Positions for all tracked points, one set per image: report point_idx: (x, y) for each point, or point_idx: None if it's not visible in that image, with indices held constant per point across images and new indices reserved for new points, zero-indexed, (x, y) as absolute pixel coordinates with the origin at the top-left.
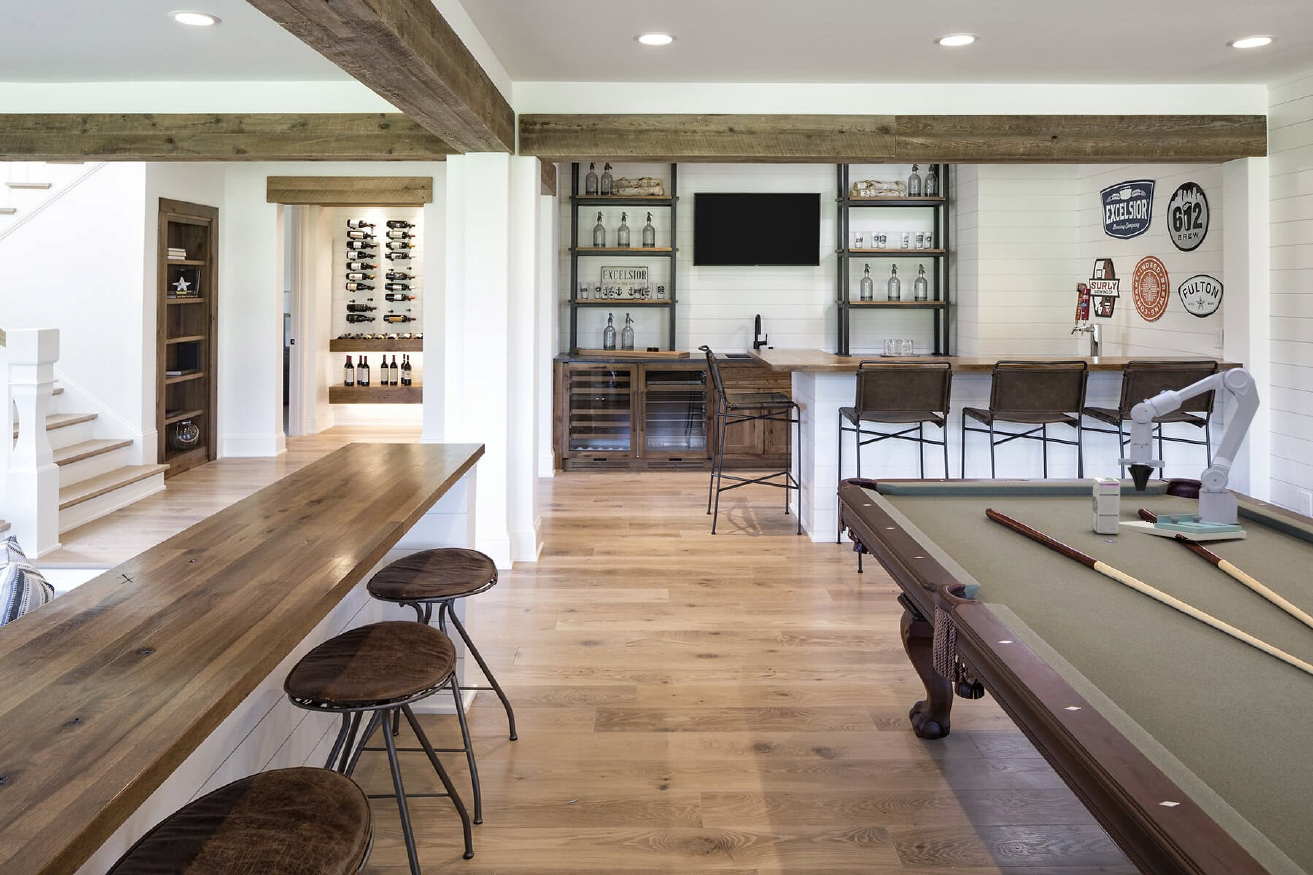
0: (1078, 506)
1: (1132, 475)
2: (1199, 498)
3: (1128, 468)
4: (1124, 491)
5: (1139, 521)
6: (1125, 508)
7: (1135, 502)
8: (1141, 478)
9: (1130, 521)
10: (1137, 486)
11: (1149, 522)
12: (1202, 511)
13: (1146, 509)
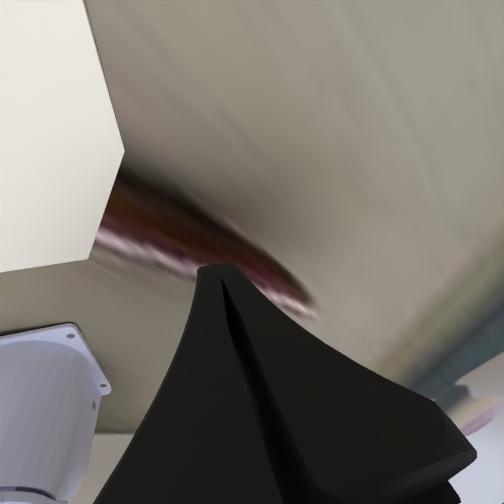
0: (487, 119)
1: (304, 347)
2: (12, 440)
3: (434, 429)
4: (453, 376)
5: (96, 116)
6: (343, 266)
7: (374, 338)
8: (177, 365)
9: (97, 52)
10: (219, 282)
11: (37, 134)
12: (2, 378)
13: (296, 312)
